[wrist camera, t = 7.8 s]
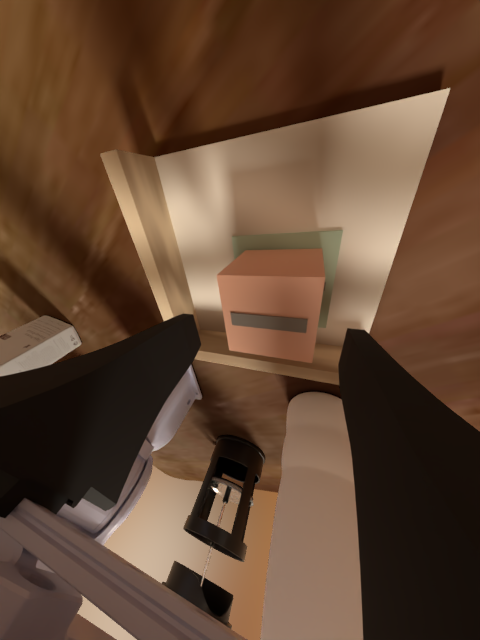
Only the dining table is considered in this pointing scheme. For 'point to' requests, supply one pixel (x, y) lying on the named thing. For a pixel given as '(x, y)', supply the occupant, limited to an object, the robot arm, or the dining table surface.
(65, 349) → the skincare box
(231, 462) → the french press
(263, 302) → the terracotta cube
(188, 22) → the dining table surface
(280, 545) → the milk bottle
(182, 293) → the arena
